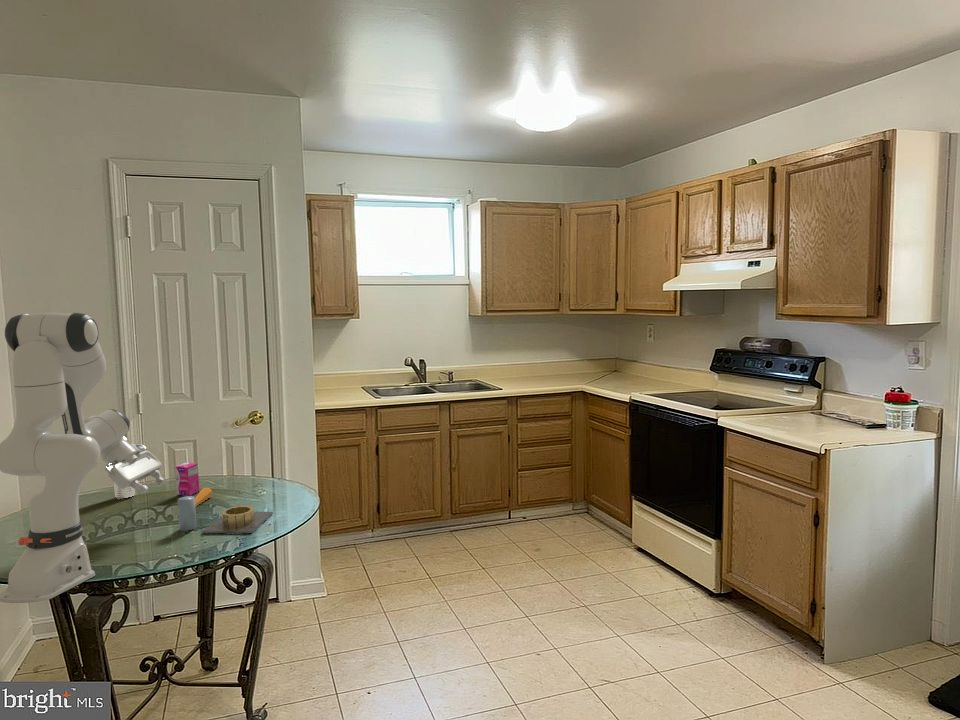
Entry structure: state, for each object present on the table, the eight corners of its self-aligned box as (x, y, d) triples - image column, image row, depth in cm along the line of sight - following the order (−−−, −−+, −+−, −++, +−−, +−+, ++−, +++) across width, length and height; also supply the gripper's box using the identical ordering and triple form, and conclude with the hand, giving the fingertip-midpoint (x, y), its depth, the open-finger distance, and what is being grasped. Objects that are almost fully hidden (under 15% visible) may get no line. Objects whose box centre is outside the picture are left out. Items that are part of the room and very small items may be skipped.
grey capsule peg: (192, 531, 209) (189, 500, 208) (176, 531, 209) (174, 501, 208) (199, 525, 214) (197, 496, 213) (184, 526, 214) (182, 496, 213)
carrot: (205, 498, 246) (200, 488, 245) (216, 494, 246) (210, 484, 245) (180, 522, 227) (173, 511, 226) (191, 517, 226) (185, 506, 225)
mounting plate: (251, 533, 205) (251, 530, 205) (202, 534, 206) (201, 531, 206) (273, 514, 223) (272, 511, 223) (227, 514, 224) (227, 512, 224)
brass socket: (247, 526, 209) (246, 515, 209) (217, 526, 210) (216, 515, 210) (259, 515, 219) (258, 505, 219) (230, 516, 220) (230, 505, 219)
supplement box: (176, 496, 248) (174, 466, 246) (187, 491, 253) (185, 462, 252) (189, 497, 246) (187, 467, 245) (200, 492, 252) (198, 463, 250)
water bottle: (126, 500, 244) (121, 434, 241) (110, 499, 245) (105, 433, 243) (139, 494, 251) (134, 430, 248) (124, 494, 252) (118, 430, 249)
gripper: (108, 459, 200) (142, 489, 200) (146, 443, 220) (176, 471, 221) (95, 473, 201) (129, 504, 201) (134, 456, 221) (165, 484, 221)
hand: (154, 486), depth 211 cm, fingers open, 8 cm apart
